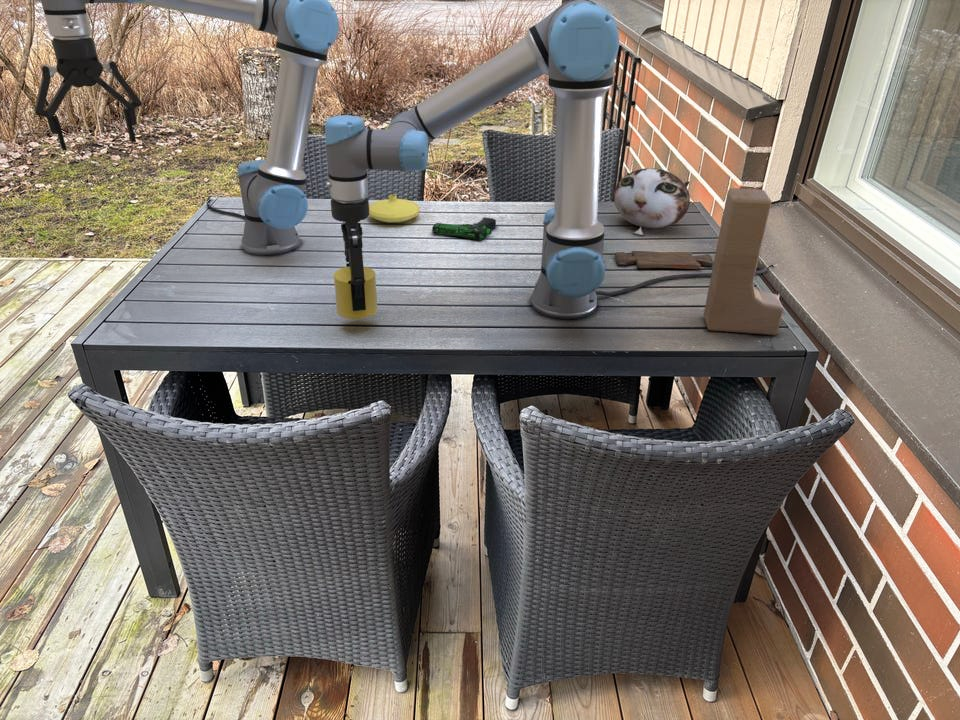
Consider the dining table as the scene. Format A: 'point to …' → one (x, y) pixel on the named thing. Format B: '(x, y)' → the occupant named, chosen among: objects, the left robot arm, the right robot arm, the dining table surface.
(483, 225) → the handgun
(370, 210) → the yellow pot lid
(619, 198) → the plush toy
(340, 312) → the canister
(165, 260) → the dining table surface
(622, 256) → the wooden paddle board
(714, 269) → the decorative block
